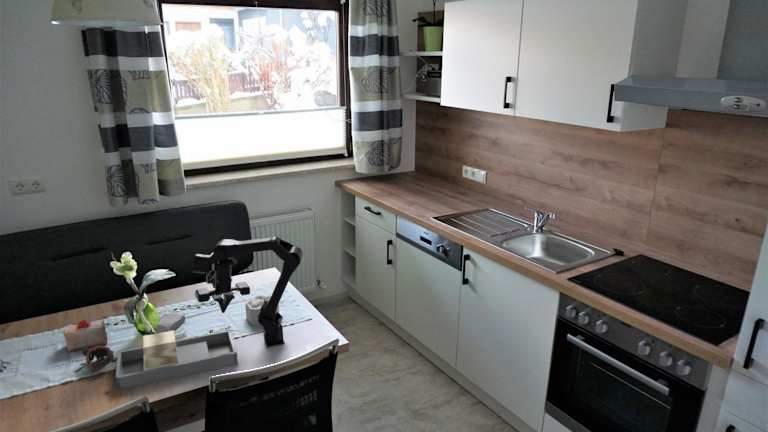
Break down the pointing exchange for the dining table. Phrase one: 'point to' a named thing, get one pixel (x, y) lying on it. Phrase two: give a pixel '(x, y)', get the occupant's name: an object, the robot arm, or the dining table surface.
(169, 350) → the birch block
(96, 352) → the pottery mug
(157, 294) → the dining table surface
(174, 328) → the stone block
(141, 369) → the grey shallow rectangular tray
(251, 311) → the lumpy-topped squat cylinder
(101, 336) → the food item
